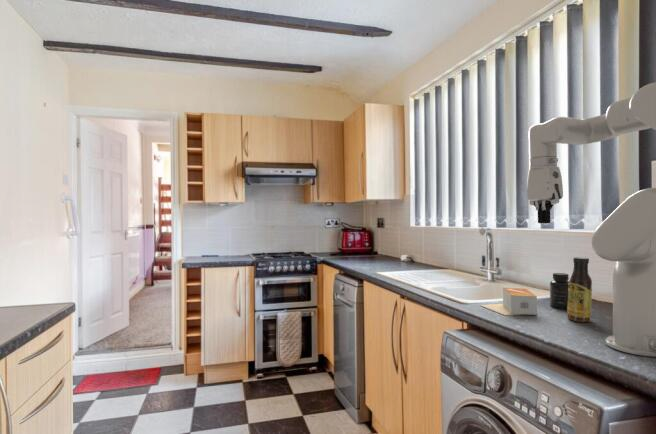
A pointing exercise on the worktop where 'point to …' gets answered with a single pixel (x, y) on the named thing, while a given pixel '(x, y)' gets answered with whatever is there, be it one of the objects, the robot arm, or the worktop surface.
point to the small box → (519, 301)
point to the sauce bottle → (580, 291)
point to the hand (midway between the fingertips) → (544, 223)
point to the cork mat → (499, 309)
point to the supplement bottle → (559, 291)
